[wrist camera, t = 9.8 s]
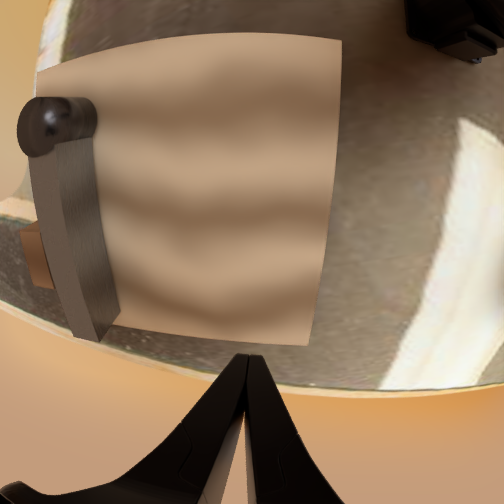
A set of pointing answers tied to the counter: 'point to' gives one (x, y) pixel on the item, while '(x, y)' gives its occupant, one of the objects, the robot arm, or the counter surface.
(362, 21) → the counter surface
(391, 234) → the counter surface
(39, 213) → the swing bar
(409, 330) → the counter surface
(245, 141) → the tan flat square sheet
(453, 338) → the counter surface
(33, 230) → the block
